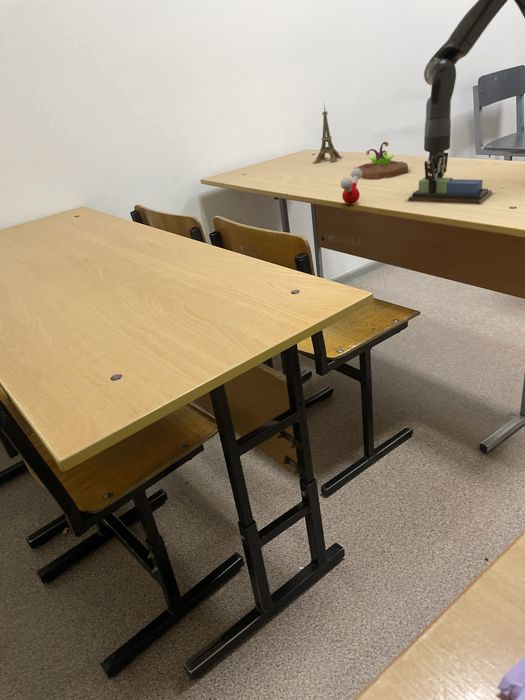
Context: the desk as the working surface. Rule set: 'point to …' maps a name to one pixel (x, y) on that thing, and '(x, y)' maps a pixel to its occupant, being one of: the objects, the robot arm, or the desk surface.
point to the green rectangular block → (440, 185)
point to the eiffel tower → (330, 148)
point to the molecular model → (351, 187)
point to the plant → (382, 166)
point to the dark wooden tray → (450, 197)
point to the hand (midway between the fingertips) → (435, 190)
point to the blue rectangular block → (464, 186)
